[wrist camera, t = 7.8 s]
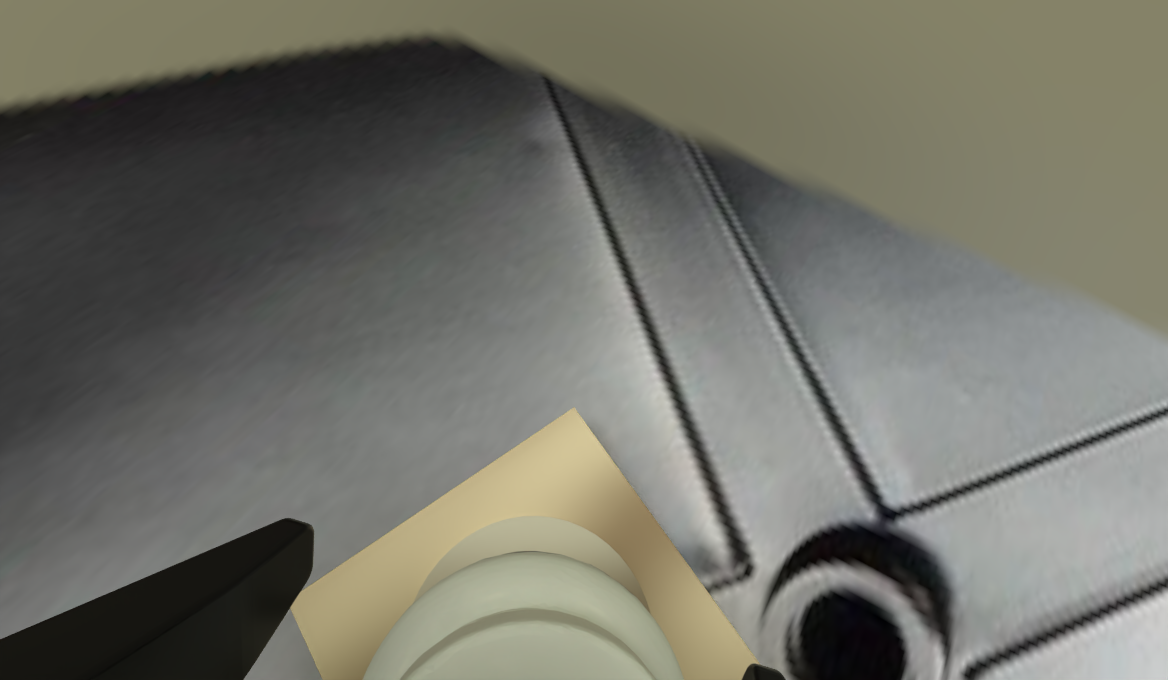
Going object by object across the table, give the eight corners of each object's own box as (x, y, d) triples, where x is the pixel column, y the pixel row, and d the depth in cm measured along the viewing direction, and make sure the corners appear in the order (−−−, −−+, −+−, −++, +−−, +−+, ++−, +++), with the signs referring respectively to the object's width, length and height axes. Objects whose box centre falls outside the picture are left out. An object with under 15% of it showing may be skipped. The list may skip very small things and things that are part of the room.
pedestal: (750, 678, 18) (787, 699, 15) (484, 921, 15) (462, 1006, 12) (573, 429, 21) (574, 404, 18) (329, 597, 18) (281, 601, 15)
